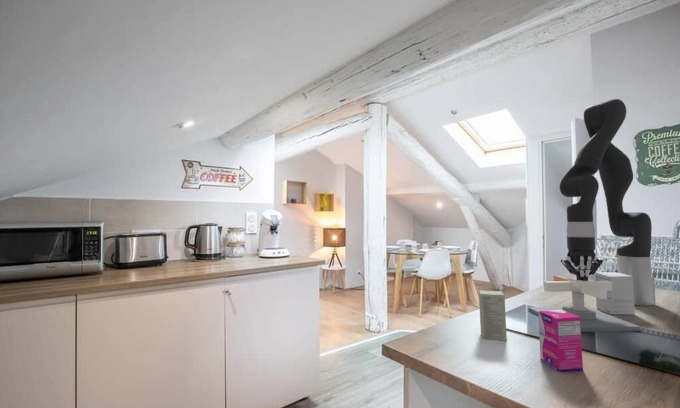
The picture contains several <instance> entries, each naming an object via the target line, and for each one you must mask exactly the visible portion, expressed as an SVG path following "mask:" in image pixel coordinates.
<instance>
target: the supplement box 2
mask: <svg viewBox="0 0 680 408" xmlns="http://www.w3.org/2000/svg"><path fill="white" fill-rule="evenodd" d="M594 279H595V280H594V281H611V282H612V291H607V299H599V298H596V297H595V300H596V301H595V302H596V304H595V305H596V309H597V310H599V311H601V312H603V313H606V314H608V315H611V316H613V315H635V314H636V312H635V311H636V310H635V305H634V290H633V276H630V275H626V274H621V273H618V272H615V271H614V272H612V271H611V272H595V274H594Z"/></svg>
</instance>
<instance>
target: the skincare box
mask: <svg viewBox="0 0 680 408" xmlns="http://www.w3.org/2000/svg"><path fill="white" fill-rule="evenodd" d="M505 298H506V297H505V294H504V292H503V291H502V290H481V289H480V290H478V299H479V301H478V302H479V304H478V305H479V320H480V321H479V322H480V323H479V324H480V335H481V338H482V339H487V340H496V341H497V340H498V341H507V340H508V339H507V338H508V337H507V321H506V319H507V318H506V317H507V316H506V299H505Z"/></svg>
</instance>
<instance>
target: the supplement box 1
mask: <svg viewBox="0 0 680 408" xmlns="http://www.w3.org/2000/svg"><path fill="white" fill-rule="evenodd" d="M538 314H539V316H538V333H539V350H540V351H539V353H540V354H539V355H540V356H539V357H540V361H541V362H543V363H545V364H546V365H548V366H549V367H551V368H553V369H554V370H555V371H556V372H558V373H564V372H565V373H566V372H567V373H568V372H582V371H584V364H583V363H584V362H583V343H582V332H581V321H580V317H579V316H576V315H573V314H571V313H568V312H566V311H563V310H561V309H558V310H544V311H538Z"/></svg>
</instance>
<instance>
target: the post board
mask: <svg viewBox="0 0 680 408" xmlns="http://www.w3.org/2000/svg"><path fill="white" fill-rule="evenodd" d="M571 298H572V299H571V302H572V303H571V304H572V305H570V306H542V307H541V306H539V307H538V306H535V307H534V306H533V307H527V308H528V312H530V313H532V314H534V315H536V316H538V317H539V314H538V311H544V310H558V309H561V310H563V311H566V312H568V313H571V314H573V315H576V316H579V317H580V321H581V333H582V332H583V333H585V332H594V333H595V332H640V331H641V330H642V329H641V328H642V327H641V326H640V325H637V324H634V323H633V322H629V321H627V320H624V319H621V318H618V317H616V316H613V315H612V314H609V313H606V312H604V311H601V310H598V309H597V310H596V309H595V308H591V307H589V306H585V294H584V293H578V292H572V291H571Z"/></svg>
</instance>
